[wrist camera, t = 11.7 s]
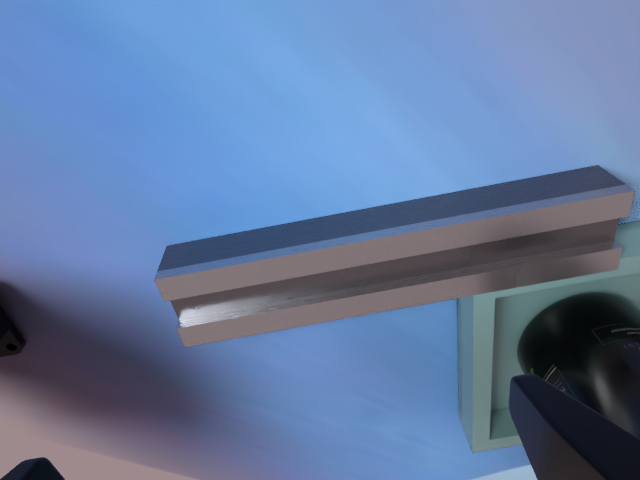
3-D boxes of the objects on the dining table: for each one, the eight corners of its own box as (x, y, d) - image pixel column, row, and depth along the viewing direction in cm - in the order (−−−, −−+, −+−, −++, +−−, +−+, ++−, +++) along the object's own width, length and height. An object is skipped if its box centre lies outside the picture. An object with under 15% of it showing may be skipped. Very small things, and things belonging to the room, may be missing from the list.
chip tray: (458, 417, 30) (472, 452, 28) (456, 254, 23) (473, 285, 21) (661, 382, 30) (690, 415, 28) (720, 205, 23) (765, 232, 21)
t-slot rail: (194, 310, 24) (185, 347, 22) (166, 246, 22) (154, 279, 20) (585, 238, 23) (617, 269, 21) (597, 165, 21) (634, 190, 19)
